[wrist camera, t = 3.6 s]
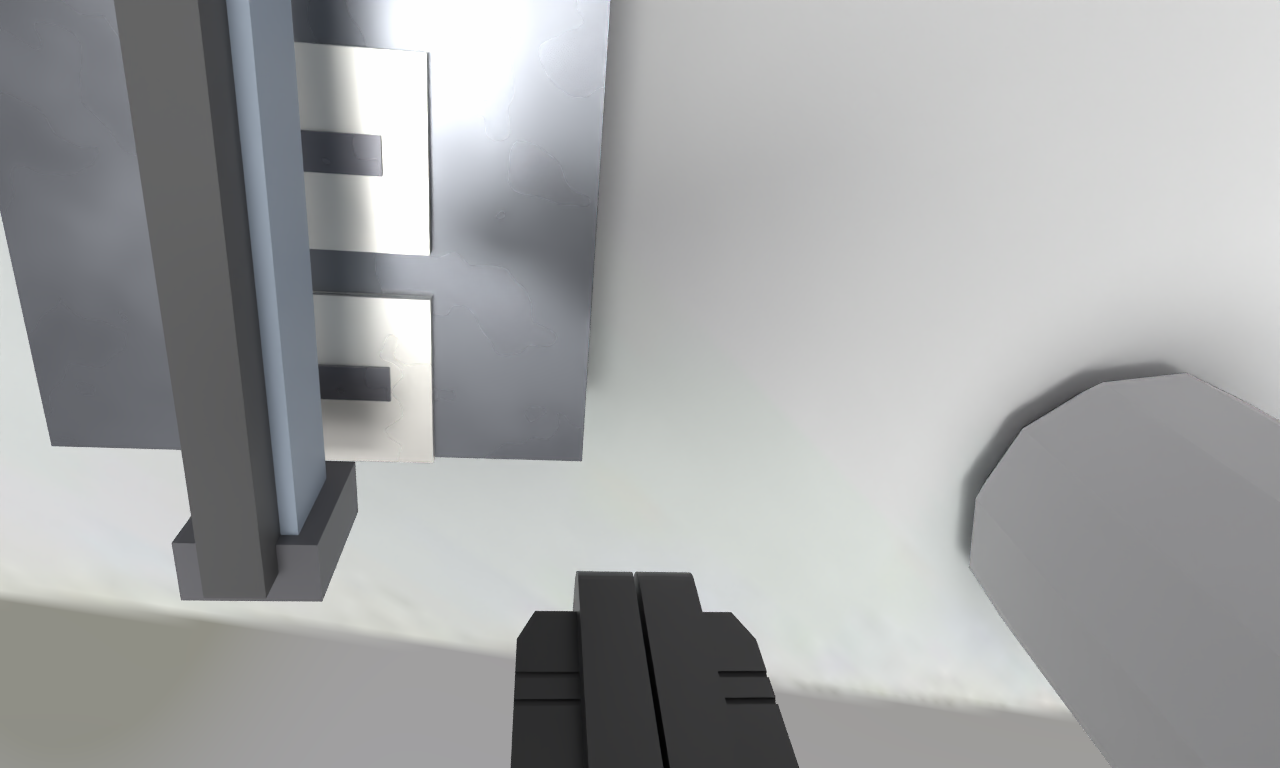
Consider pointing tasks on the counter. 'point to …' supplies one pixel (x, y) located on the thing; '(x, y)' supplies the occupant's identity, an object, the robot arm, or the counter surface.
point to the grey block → (336, 223)
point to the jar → (1145, 568)
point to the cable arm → (236, 295)
